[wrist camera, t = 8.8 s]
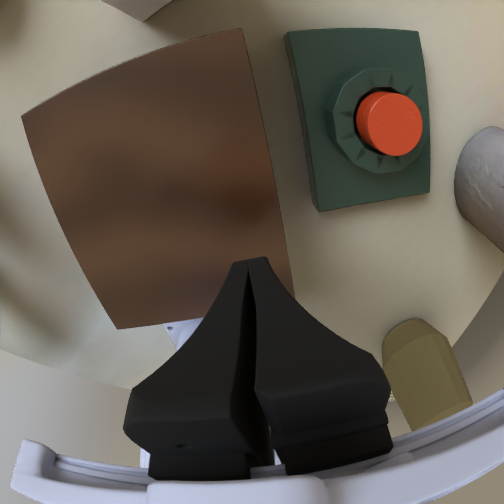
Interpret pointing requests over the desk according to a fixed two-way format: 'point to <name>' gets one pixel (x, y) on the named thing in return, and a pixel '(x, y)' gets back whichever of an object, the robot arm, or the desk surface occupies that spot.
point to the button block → (345, 112)
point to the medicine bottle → (138, 7)
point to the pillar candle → (483, 184)
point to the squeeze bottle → (423, 373)
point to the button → (389, 122)
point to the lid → (162, 178)
